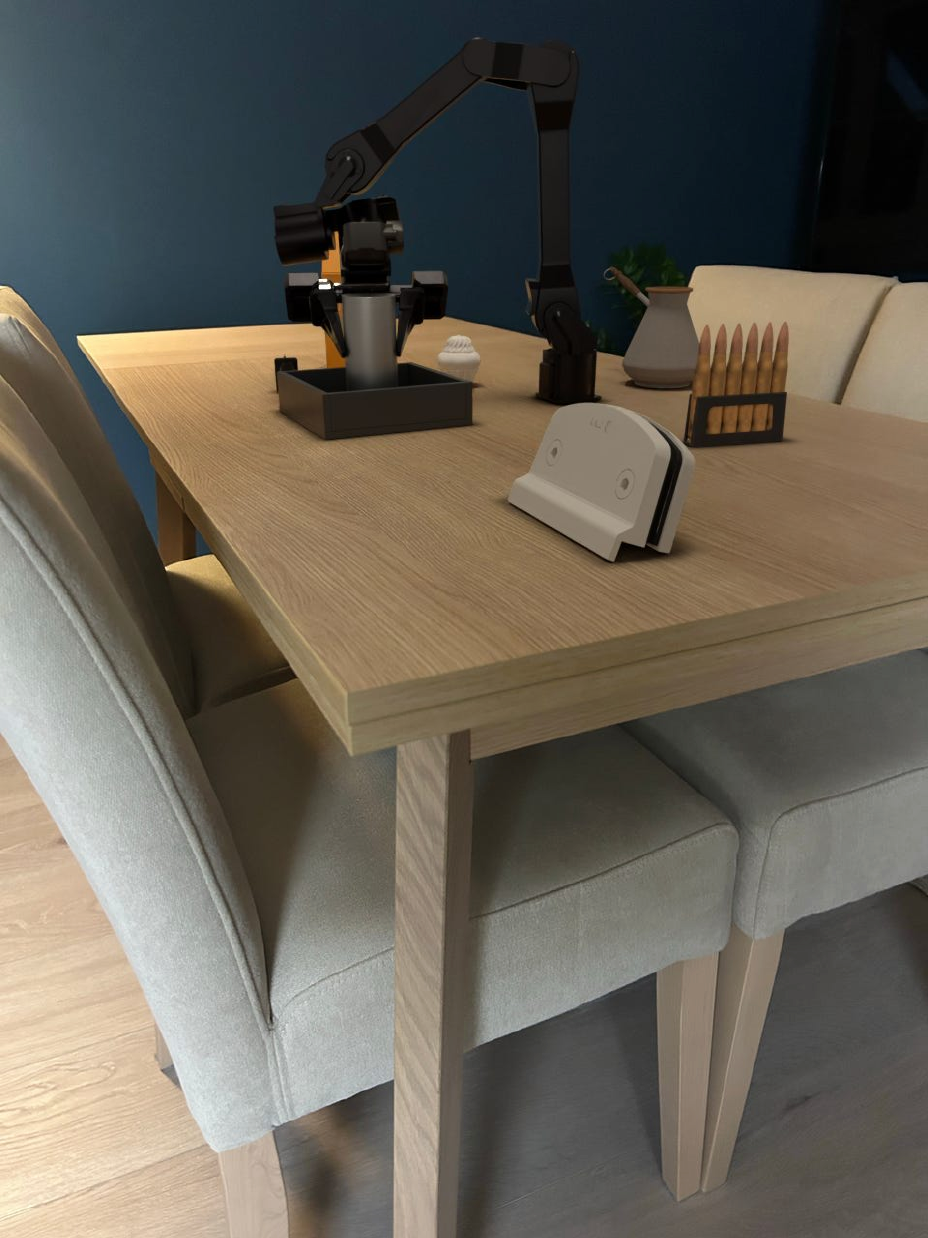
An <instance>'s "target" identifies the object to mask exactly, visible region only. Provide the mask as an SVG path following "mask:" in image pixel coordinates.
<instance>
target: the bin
mask: <svg viewBox="0 0 928 1238" xmlns="http://www.w3.org/2000/svg"><path fill="white" fill-rule="evenodd" d="M397 364H398V387H392V388H380V389H368V390H356V391H347V384H346V367H335V368H327V367H323V368H307V369H298V370H293V371H278V372H277V381H278V391H277V393H278V404H279V413H280V412H281V413H282V414H283V415H285V416H287V417H288V418H290V419H291V420H293V421H294V422H296V423H297V424H299V425H301V426H303V427H304V428H306V429H307V430H309V431H310V432H312V433H313V434H315V435H317V436H318V437H320V438H322V439H323V440H325V441H327V440H328V441H329V440H338V439H348V438H357V437H366V436H376V435H385V434H395V433H396V434H397V433H405V432H414V431H415V432H416V431H424V430H434V429H444V428H454V427H463V426H472V425H473V387H474V386H473V384H474V383H473V381H472V382H470V381H467V380H464V379H461V378H458V377H455V376H452V375H449V374H446V373H443V372H440V370H437V369H434V368H432V367H431V368H430V367H429V366H428V367H427V366H425V365H422V364H418V363H416V362H413V361H407V362H397Z"/></svg>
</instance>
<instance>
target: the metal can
mask: <svg viewBox="0 0 928 1238" xmlns="http://www.w3.org/2000/svg"><path fill="white" fill-rule="evenodd" d="M342 308H343V327H344V340H345V365H346V384H347V391H356V390H368V389H380V388H392V387H398V364H397V363H398V356H397V305H396V299H395V294H389V293H353V294H344V295H342Z"/></svg>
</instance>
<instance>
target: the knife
mask: <svg viewBox="0 0 928 1238" xmlns="http://www.w3.org/2000/svg"><path fill="white" fill-rule="evenodd" d="M283 355H284V356H283V357H275V358H274V361H273V362H274V364H273V365H274V376H275V377H274V378H275V387H276V388H275V389H276V392H278V381H277V372H278V371H293V370H299V364H298V358H297V357H296V356H295V357H294V356H293V357H287V356H286V354H283Z"/></svg>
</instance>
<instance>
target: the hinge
mask: <svg viewBox="0 0 928 1238" xmlns="http://www.w3.org/2000/svg"><path fill="white" fill-rule="evenodd" d="M695 468H696V459H695V456H694V454H693V453H692V452H691V451H690V450H689V449H688V447H687V446H686V444H685V443H683V442H682V440H680V439H679V438H678V437H677V436H676V435H675V434H674V433H672V432H671V431H670V430H668V429H667V428H665V426H663V425H661V424H659V422H657V421H655V420H654V419H652V418H650V417H648V416H647V415H645V414H642V413H639V412H636V411H632V410H629V409H627V408H626V407H625V408H624V407H622V406H617V405H614V404H613V405H612V404H607V403H606V404H605V403H595V402H577V403H572V404H568V405H565V406H561V407H559V408H557V409H556V410H555V411H554V413H553V415H552V416H551V418H550V421H549V423H548V426H547V427H546V431H545V433H544V435H543V438H542V440H541V443H540V445H539V447H538V449H537V452H536V455H535V457H534V459H533V461H532V464H531V467H530V468H529V471H528V472H527V473H526V474H524V475H522V476H520V477H517V478H515V480H514V481H513V482H512V483H513V484H512V486H511V489H510V492H509V495H508V498H507V502H509V503H510V504H512V505H513V506H515V507H517V508H518V509H521V510H522V511H524V512H526V513H527V514H529V515H531V516H532V517H534V518H535V519H538V520H539V521H541V522H542V523H544V524H546V525H548V526H549V527H551V528H553V529H554V530H556V531H557V532H559V533H561V534H563V535H565V536H566V537H568V538H569V539H571V540H573V541H575V542H577V543H578V544H580V545H581V546H584V547H585V548H586V549H588V550H590V551H591V552H593V553H595V554H597V556H598V555H599V556H600V557H602V559H603V558H604V559H605V560H607V561H610V562H612V563H613V562H615V560H616V557H617V554H618V552H619V549H620V547H621V544H622V542H623V543H625V544H630V545H633V546H637V547H641V548H645V546H647V547H649V548H651V549H653V550H655V551H656V552H660V553H665V554H671V553H670V552H671V550H672V546H673V542H674V539H675V536H676V532H677V529H678V526H679V522H680V519H681V516H682V512H683V509H684V505H685V501H686V499H687V495H688V492H689V488H690V484H691V482H692V478H693V474H694V472H695Z"/></svg>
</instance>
